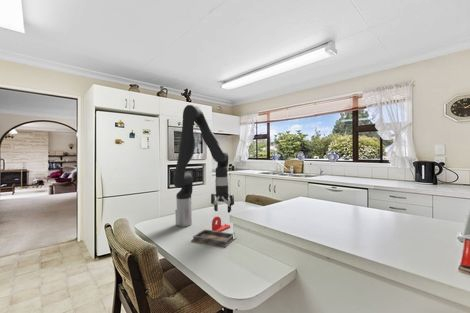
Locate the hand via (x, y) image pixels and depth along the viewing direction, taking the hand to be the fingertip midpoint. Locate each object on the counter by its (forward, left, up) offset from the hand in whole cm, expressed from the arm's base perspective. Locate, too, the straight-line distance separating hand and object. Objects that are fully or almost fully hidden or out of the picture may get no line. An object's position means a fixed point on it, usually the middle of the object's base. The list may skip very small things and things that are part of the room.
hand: (222, 211), depth 130 cm
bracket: (-1, +1, -11) cm, 11 cm away
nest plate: (+2, -14, -11) cm, 18 cm away
